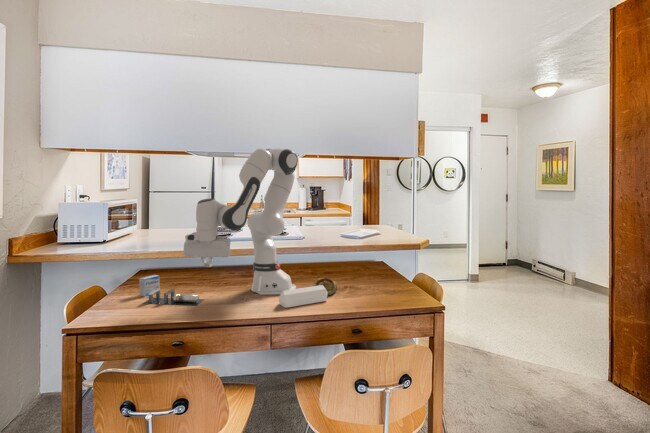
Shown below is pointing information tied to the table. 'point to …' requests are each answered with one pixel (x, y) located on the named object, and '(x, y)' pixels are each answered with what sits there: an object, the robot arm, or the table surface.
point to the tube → (185, 298)
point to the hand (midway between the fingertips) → (207, 266)
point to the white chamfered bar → (303, 296)
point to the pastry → (327, 285)
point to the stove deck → (167, 299)
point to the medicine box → (149, 284)
